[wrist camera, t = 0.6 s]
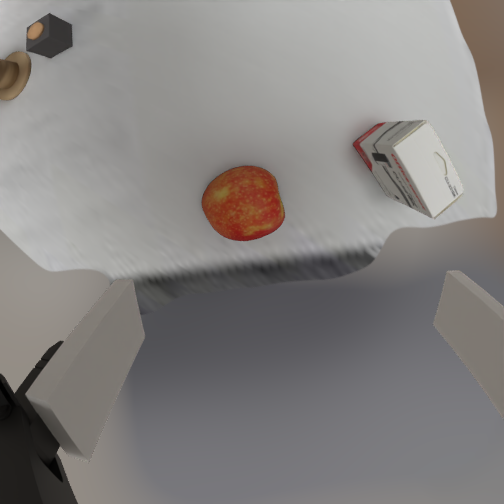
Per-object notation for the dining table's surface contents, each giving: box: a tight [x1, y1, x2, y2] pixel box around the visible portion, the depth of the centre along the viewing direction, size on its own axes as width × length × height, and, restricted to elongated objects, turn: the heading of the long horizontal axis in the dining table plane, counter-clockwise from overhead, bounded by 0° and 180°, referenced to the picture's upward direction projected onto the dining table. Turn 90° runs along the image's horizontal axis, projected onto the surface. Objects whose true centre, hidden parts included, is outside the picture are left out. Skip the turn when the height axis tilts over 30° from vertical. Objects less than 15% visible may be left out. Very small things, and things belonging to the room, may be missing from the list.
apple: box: [202, 166, 285, 241], centre depth 32 cm, size 8×8×8 cm
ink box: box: [353, 120, 464, 219], centre depth 28 cm, size 8×5×12 cm, turn 40°
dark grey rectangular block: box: [26, 13, 72, 58], centre depth 24 cm, size 4×4×7 cm
